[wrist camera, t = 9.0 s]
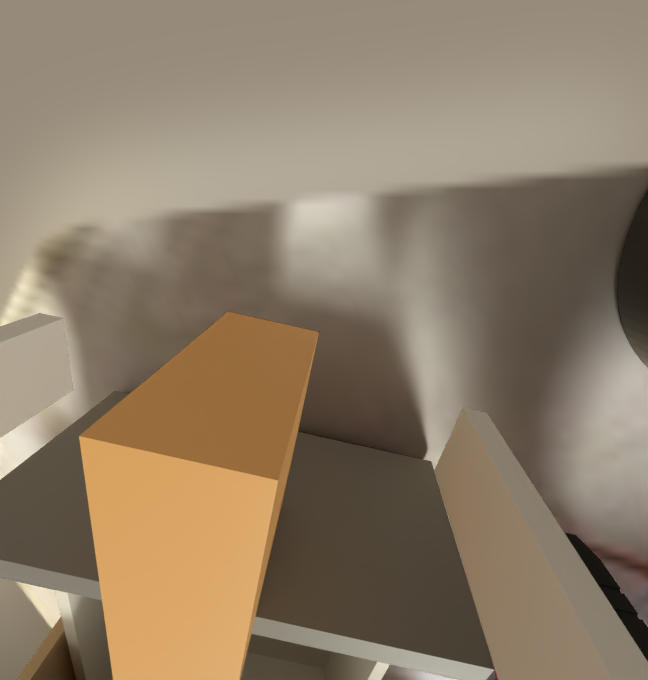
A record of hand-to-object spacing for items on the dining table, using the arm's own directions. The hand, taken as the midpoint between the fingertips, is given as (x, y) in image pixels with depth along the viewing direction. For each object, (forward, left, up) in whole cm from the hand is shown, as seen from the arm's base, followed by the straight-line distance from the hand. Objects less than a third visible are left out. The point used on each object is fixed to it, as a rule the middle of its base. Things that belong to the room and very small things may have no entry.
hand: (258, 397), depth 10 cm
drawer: (0, +13, -5) cm, 14 cm away
